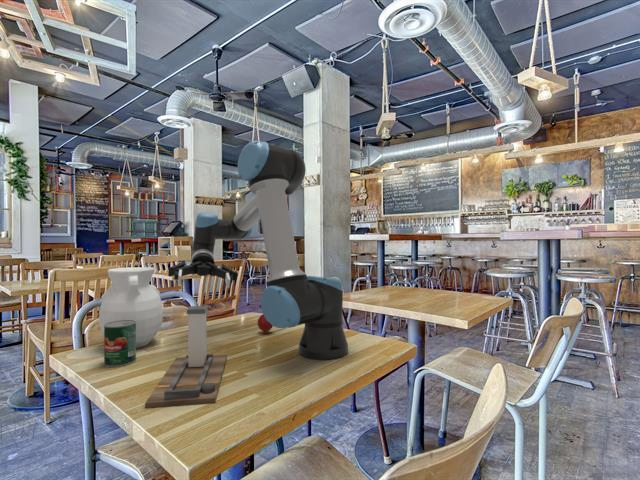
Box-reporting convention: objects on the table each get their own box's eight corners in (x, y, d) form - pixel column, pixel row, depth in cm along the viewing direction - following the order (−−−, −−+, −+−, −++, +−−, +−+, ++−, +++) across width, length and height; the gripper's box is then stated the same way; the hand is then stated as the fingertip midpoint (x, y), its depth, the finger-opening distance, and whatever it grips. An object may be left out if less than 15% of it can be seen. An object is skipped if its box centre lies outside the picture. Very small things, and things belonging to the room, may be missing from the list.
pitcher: (100, 341, 120) (100, 267, 120) (160, 334, 129) (160, 265, 129) (97, 358, 103) (97, 272, 103) (166, 348, 113) (165, 269, 112)
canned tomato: (101, 368, 95) (101, 327, 95) (106, 359, 102) (106, 321, 102) (134, 364, 98) (134, 325, 98) (137, 355, 105) (137, 318, 105)
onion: (260, 330, 134) (260, 309, 134) (275, 331, 133) (275, 309, 133) (255, 334, 128) (255, 312, 128) (270, 335, 128) (270, 313, 127)
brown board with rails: (176, 361, 101) (176, 352, 101) (226, 358, 103) (226, 349, 103) (145, 407, 73) (145, 395, 73) (215, 402, 76) (215, 390, 76)
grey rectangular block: (190, 361, 97) (190, 306, 97) (207, 360, 98) (207, 305, 98) (186, 367, 93) (186, 309, 92) (205, 366, 93) (205, 309, 93)
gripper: (238, 275, 127) (246, 296, 108) (162, 270, 118) (156, 292, 99) (241, 255, 126) (249, 272, 106) (164, 248, 117) (158, 266, 98)
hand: (204, 282), depth 102 cm, fingers open, 13 cm apart
